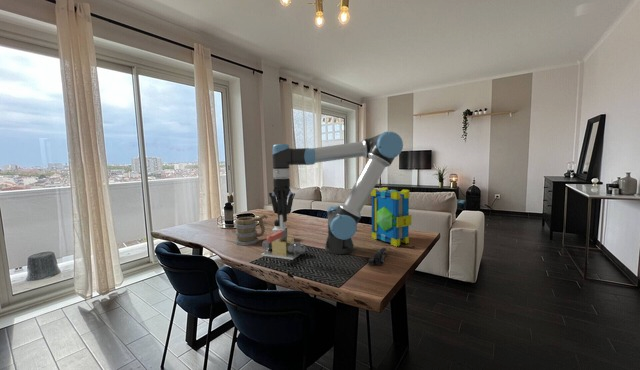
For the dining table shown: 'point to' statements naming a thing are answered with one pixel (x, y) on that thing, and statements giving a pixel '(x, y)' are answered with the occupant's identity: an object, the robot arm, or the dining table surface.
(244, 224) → the tankard
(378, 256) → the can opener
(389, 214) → the decorative book
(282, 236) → the lever
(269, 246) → the valve
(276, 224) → the medicine bottle
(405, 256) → the dining table surface
